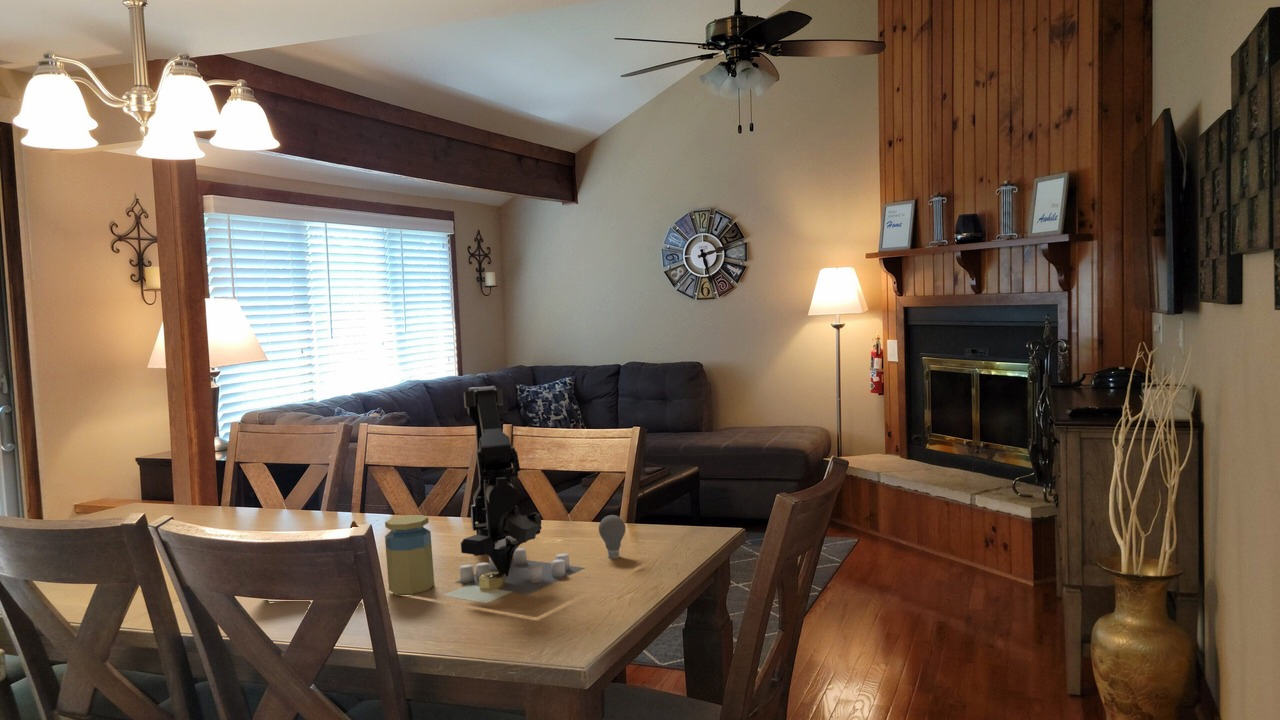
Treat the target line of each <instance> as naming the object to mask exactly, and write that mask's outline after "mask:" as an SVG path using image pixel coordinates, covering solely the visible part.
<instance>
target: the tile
mask: <svg viewBox="0 0 1280 720" xmlns="http://www.w3.org/2000/svg"><path fill="white" fill-rule="evenodd" d="M511 593H512V592H511V591H505V590H499V589H495V590H490V591H489V590H484V589H480V587H479V586H474V585H467V584H465V586H462V587H459V588H456V589H455V590H452V591H450V592H449V591H448V592H446V593H444V594H443V595H442V596H443V597H447V598H454V599H460V600H466V601H472V602H476V603H482V604H489V603H490V602H493V601H495V600H498V599H500V598H502V597H504V596H506V595H509V594H511Z"/></svg>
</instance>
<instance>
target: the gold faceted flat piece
mask: <svg viewBox="0 0 1280 720" xmlns="http://www.w3.org/2000/svg"><path fill="white" fill-rule="evenodd" d="M505 585H506V574H505V573H500V572H491V573H486V574H482V575H481V576H480V578H479V587H480V589H484V590H489V591H490V590H495V589H501V588H503V587H504V586H505Z"/></svg>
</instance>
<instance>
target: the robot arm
mask: <svg viewBox="0 0 1280 720" xmlns="http://www.w3.org/2000/svg"><path fill="white" fill-rule="evenodd" d="M503 401H504V400H503V391H502V388H497V387H496V386H495V385H490V386H486V385H485V386H475V387H468V391H464V392H463V403H464V409H467V413H468V416H469V418H470V419H471V420H472V422H473V423H474V425H475V437H476V439H475V441H476V463H477V469H478V470H477V471H478V487H477V489H476V490H475V492H474V494H473V504H470V509H471V510H470V519H471V521H470V522H471V528H472V531H473V532H474V531H475V532H476V534H473V535H471V536H468V537H465V538H463V539H462V541H461V542H460V551H461V554H468V555H475V556H485V555H488V558H489V557H490V558H491V559H492V561H493V563H494V564H495V566H496V568H497V570H498V571H499V572H500V573H505V574H506V577H507V576H508V573H509V569H510V565H511V561H512V559H513V558H514V551H515V549H518V548H519V546H520V545H522V544H524V543H527V542H529V541H531V540H535V539H536V536H537V535H539V534H541V530H542V517H541V514H540V513H538V512H536V511H533V512H532V513H529V514H528V515H522V514H521V512H520V508H519V506H518V505H517V504H518V501H519V494H518V492H517V490H516V488H515V487H514V486H513V482H512V478H516V477H519V472H520V471H521V468H520V466H521V465H520V461H519V455H518V451H517V450H516V449H515V446H512V443H511V441H510V440H511V439H510V437H509V435H508V434H506V433H504V432H503V430H502V424H501V419H500V406H502V405H504V402H503Z"/></svg>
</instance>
